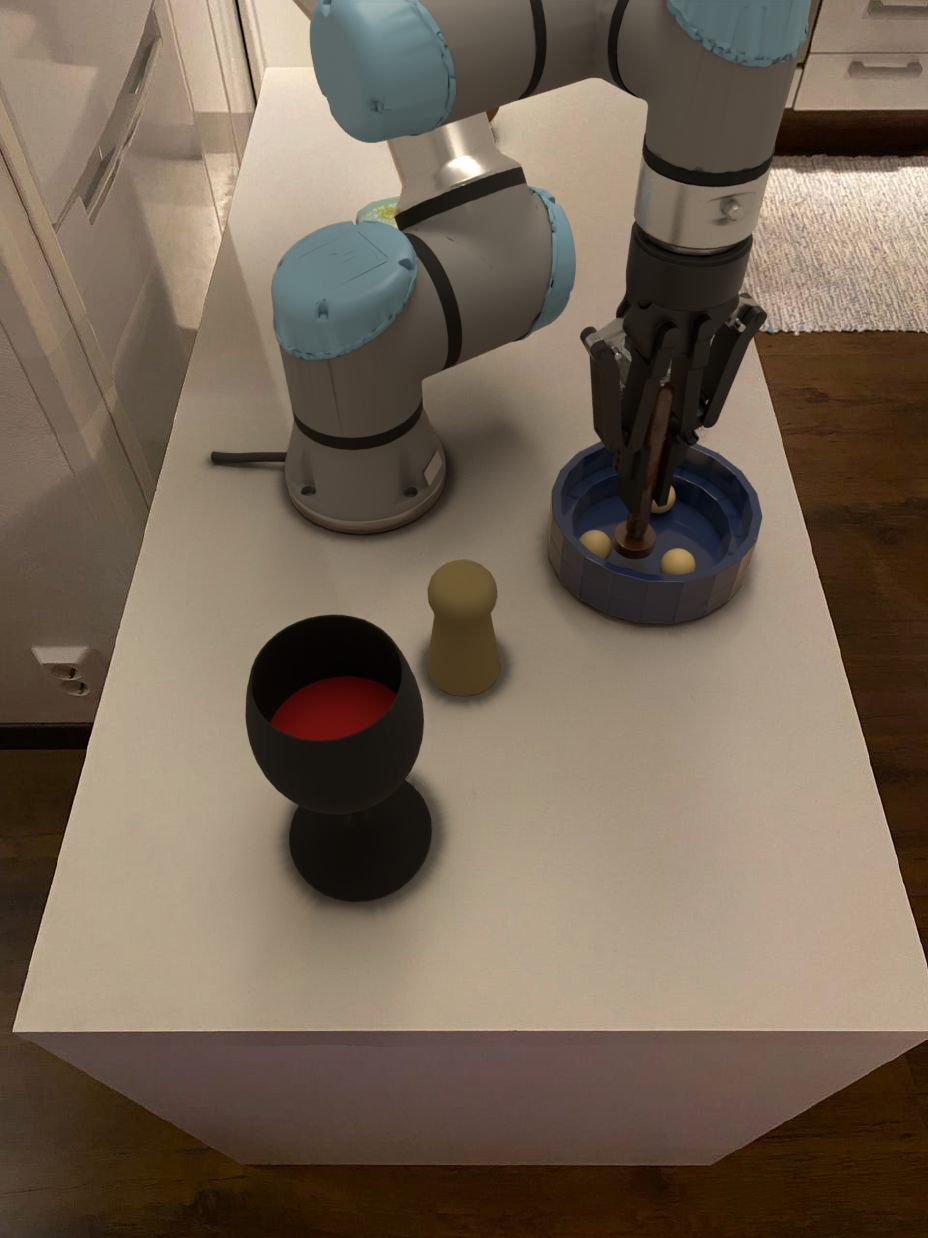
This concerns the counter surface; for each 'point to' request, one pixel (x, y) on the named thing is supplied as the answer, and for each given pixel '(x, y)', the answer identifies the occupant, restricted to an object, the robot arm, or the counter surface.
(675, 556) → the chickpea
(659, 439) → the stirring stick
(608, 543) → the chickpea
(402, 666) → the wine glass
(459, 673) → the cork
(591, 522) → the bowl
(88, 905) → the counter surface
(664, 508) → the chickpea
